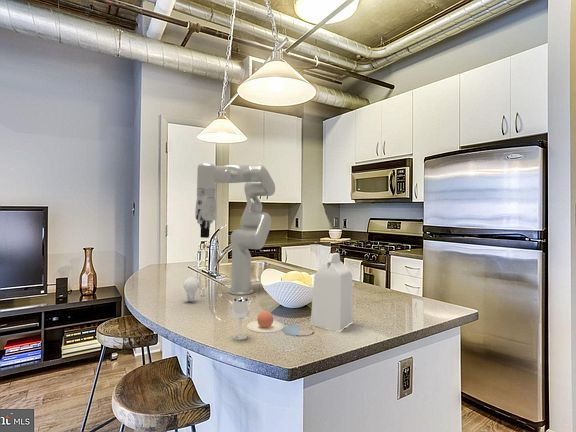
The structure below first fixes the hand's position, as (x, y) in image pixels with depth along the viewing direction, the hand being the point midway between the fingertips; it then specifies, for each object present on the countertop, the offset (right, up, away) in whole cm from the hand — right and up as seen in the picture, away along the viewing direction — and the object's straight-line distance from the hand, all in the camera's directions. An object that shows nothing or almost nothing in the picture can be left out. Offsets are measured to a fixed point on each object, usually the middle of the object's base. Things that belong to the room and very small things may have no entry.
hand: (204, 237), depth 143 cm
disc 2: (+38, -30, -26) cm, 55 cm away
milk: (+51, -31, -18) cm, 62 cm away
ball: (+27, -27, -24) cm, 45 cm away
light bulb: (-8, -29, +6) cm, 31 cm away
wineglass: (+19, -30, -34) cm, 49 cm away
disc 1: (+27, -30, -22) cm, 46 cm away
